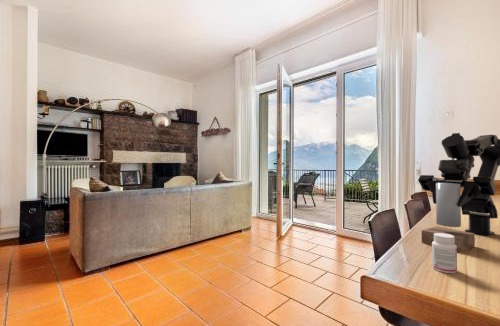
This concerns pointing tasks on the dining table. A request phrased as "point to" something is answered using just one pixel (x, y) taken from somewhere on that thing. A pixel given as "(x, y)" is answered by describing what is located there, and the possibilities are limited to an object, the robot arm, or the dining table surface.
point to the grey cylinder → (448, 204)
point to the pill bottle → (444, 253)
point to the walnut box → (461, 238)
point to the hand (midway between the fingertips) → (446, 204)
